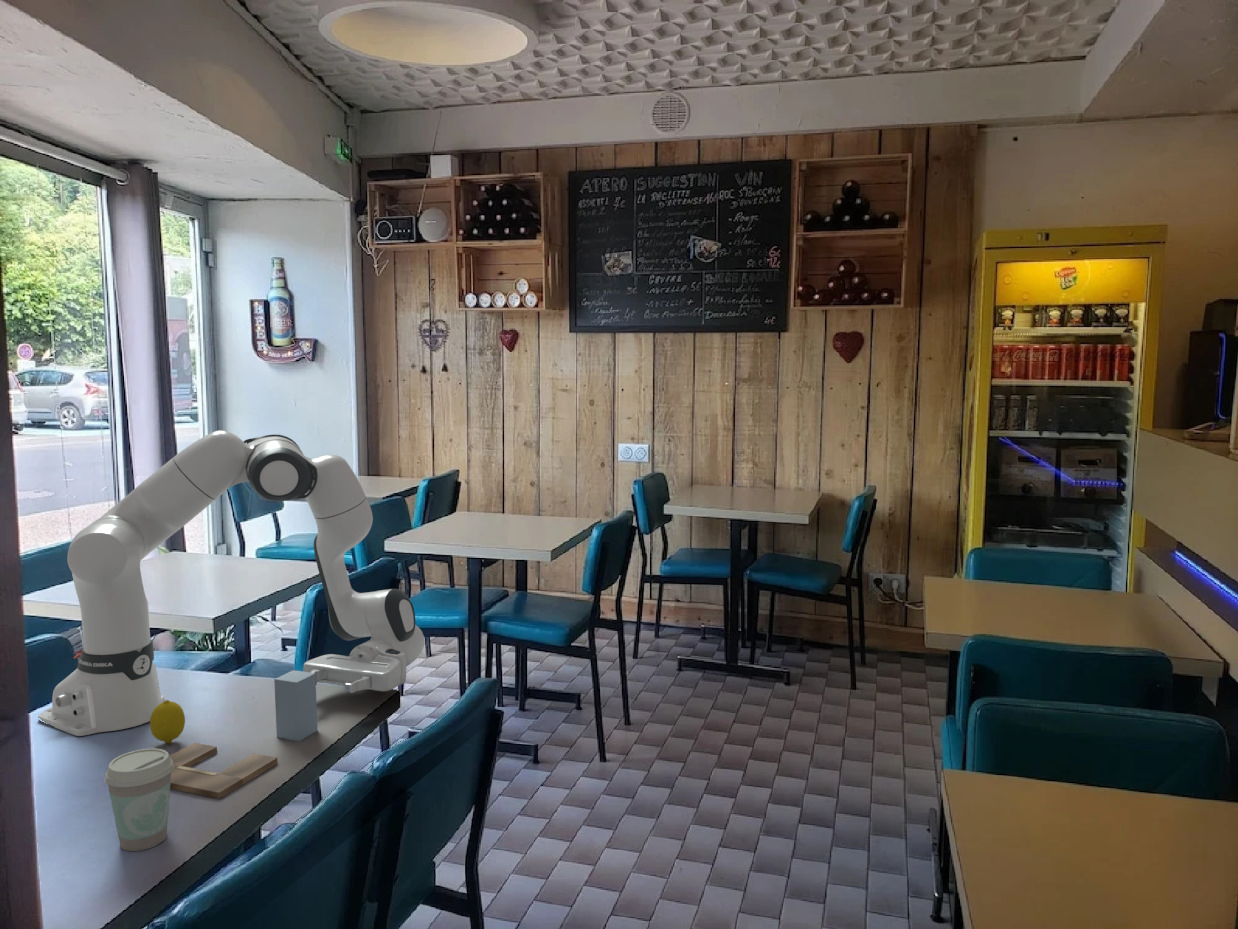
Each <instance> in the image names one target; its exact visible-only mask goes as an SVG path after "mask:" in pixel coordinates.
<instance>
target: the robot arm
mask: <svg viewBox="0 0 1238 929" xmlns="http://www.w3.org/2000/svg"><path fill="white" fill-rule="evenodd" d="M242 483H249V485H250V486H251V488H252V490H253V491H254V492H255V494H257V495H258V496H260V497H262V498H263V499H265V500H269V501H271V502H284V501H290V500H291V501H292V500H300V499H301V500H302V499H305V500H306V502H307V503H308V504H307V505H309V506H308V507H309V508H310V511H311V513H312V516H313V517H314V519H315V522H316V526H317V534H316V536H315V537H314V540H313V551H314V552H313V553H314V558H315V562H316V566H317V570H318V572H319V578H320V580H321V585H322V588H323V589H322V590H323V592H324V595H325V599H326V603H327V609H328V620H329V621H328V622H329V626H330V627H331V629H332V631H333V632H334V634H335V635H337V637H339V638H340V639H342V640H344V641H347V642H349V641H354V640H358V639H363V638H367V637H368V638H369V637H370V640H367V641H365V642H363V643H361V644H358V645H356V646H355V647H354V648H352V650H351V651H350V653H349V654H348V655H342V654H334V653H330V654H329V653H328V654H324V655H320V656H318V657H315V658H312V659H309V660H307V661H305V662H303V663H304V664H303V672H309V673H315V677H316V686H317V683H324V684H329V685H338V686H342V687H343V686H344V692H346V693H350V694H353V693H355V692H357V691H358V692H359V691H364V690H369V691H370V690H371V691H379V692H390V691H392V690H394V689H395V688H396V687H399V686H401V685H403V684H405V683H406V682H407V667H409V666H410V665H411V664H412V663H414V662H415V661H416V660H417V659H418V658H419V656H421V654H422V653H423V650H424V648H425V635H424V633H423V631H422V629H420V628H419V626H417V625H416V613H415V608H414V605H413V603H412V601H411V599H410V598H409V596H407V594H406V593H405V592H404V591H403V590H401V589H399V588H389V589H382V590H376V591H375V590H374V591H369V592H368V591H367V592H357V591H355V590H354V589H353V588H352V585H351V582H350V578H349V574H348V571H347V567H346V563H345V554H346V553H347V552H348V551H350V550H351V549H353V548H354V547H356V546H357V545H358V544H359V543H361V542H362V541H363V540H364V539H365V538H366V537H367V536H368V534H369V532H370V531H371V529H372V527H373V521H374V519H373V517H374V516H373V512H372V508H371V506H370V503H369V501H368V500H369V499H368V498H367V496H366V493H365V491H364V489H363V487H362V485H361V483H360V481H359V479H358V477H357V475H356V473H355V472H354V471H353V469H352V468H351V466H350V465H349V463H348V462H347V460H346V459H345V458H343V457H342V456H340V455H338V454H324V455H320V456H317V457H313V458H311V457H308V456H306V455H305V454H304V453H303V451H302V450H301V448H300V446H299V445H298V444H297V443H296V442H295V441H294V440H293V439H291V438H290V437H288V436H285V435H282V434H267V435H263V436H256V437H253V438H247V439H245V440H244V441H243V440H242V438H239V437H238V435H236V434H234V433H232V432H230V431H226V430H222V429H221V430H216V431H215V430H214V431H212V432H210V433H208V434H206V435H205V436H203V437H201V438H199V439H197V440H196V441H194V442H193V443H191V444H189V445H188V446H187V447H185V448H184V449H182V450H181V451H179V452H178V453H177V454H175V456H173V457H172V458H171V459H169V460H168V461H167V462H165V464H162V466H161V467H160V468H158V469H157V470H156V471H155V472H153V473H152V474H150V476H148V477H147V478H146V479H144V480H143V481H142V482H141V483H139V485H137V486H136V487H135V488H134V489H133V490H131V491H130V492H129V493H128V494H127V495H125V496H124V498H122V499H121V500H119V502H117V503H116V504H115V505H114V506H113V507H111V508H110V509H108V511H106V512H105V513H104V514H103V515H101V516H100V517H99V518H98V519H96V520H95V521H93V522H92V523H90V524H89V525H87V526H86V527H85V528H83V529H82V530H80V531H78V533H76V535H74V537H73V538H72V540H71V542H70V544H69V547H68V549H67V550H68V551H67V557H66V560H67V566H68V568H69V570H70V572H71V574H72V580H73V583H74V584H73V585H74V590H75V591H76V592H75V593H76V596H77V599H78V603H79V608H80V615H81V630H82V643H83V648H82V649H81V650H78V651H75V652H73V655H75V654H77V655H75V656H74V657H73V659H77V658H79V659H78V662H77V666H76V669H75V670H73V672H71V673H70V674H69V675H68V676H66V677H65V678H64V679H62V681H61V682H59V683H58V684H57V685H56V686H55V687H54V689H53V692H52V698H51V699H52V702H51V703H52V704H51V707H49V708H47V709H45V710H44V711H43V712H41V713H39V715H38V718H40V719H41V720H42V721H44V722H45V723H47V724H50V725H52V726H54V727H53V728H55V729H57V730H61V731H63V732H65V733H68V734H70V735H73V736H75V737H81V736H88V735H89V736H90V735H92V734H97V733H103V732H104V733H106V732H112V731H121V730H125V729H130V728H135V727H137V726H141V725H143V724H146V723H150V719H151V715H152V712H153V710H154V709H155V708H156V707H157V706H158V705H159V704H161V703H163V702H164V701H165V695H164V694H161V689H160V688H161V687H160V683H159V677H158V672H157V671H158V670H157V667H156V664H155V662H154V660H155V646H154V642H153V640H152V639H151V631H150V629H151V628H150V613H149V611H150V610H149V601H148V599H147V596H146V592H145V589H144V584H143V578H142V574H141V573H142V572H141V562H142V560H144V558H146V557H148V555H149V554H150V553H151V552H153V551H154V550H155V549H156V548H158V547H159V546H161V544H163V543H164V542H166V541H167V540H168V539H169V538H171V537H172V536H173V535H174V534H175V533H178V531H179V530H181V529H182V528H184V526H186V525H187V524H188V523H189V522H191V521H192V520H193V519H194V518H195V517H197V515H198V516H199V514H200V513H202V511H204V510H206V509H207V507H208V506H210V505H211V504H212V503H213V502H215V501H216V500H217V499H218V498H219V497H220V496H221V495H223V494H224V493H225V492H226V491H227V490H228V489H231V488H232V487H234V486H235V485H238V484H242ZM38 718H37V719H38ZM45 723H44V724H45ZM47 724H46V725H47ZM50 725H49V726H50ZM52 726H51V727H52Z"/></svg>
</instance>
